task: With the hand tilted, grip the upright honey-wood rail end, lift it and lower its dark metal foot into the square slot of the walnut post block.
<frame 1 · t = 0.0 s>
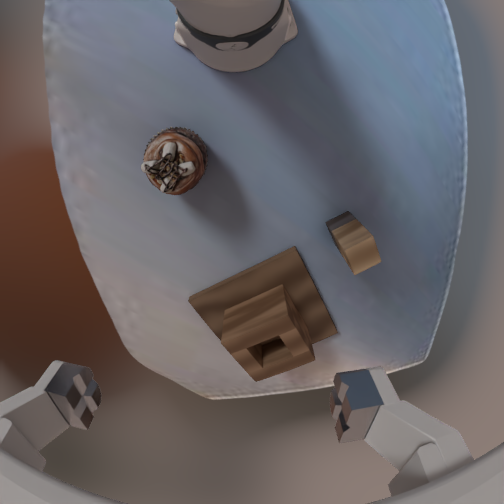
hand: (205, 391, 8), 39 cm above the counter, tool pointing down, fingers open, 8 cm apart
cupcake: (182, 155, 42), on the counter
post block: (267, 314, 55), on the counter
rail end: (341, 227, 47), on the counter
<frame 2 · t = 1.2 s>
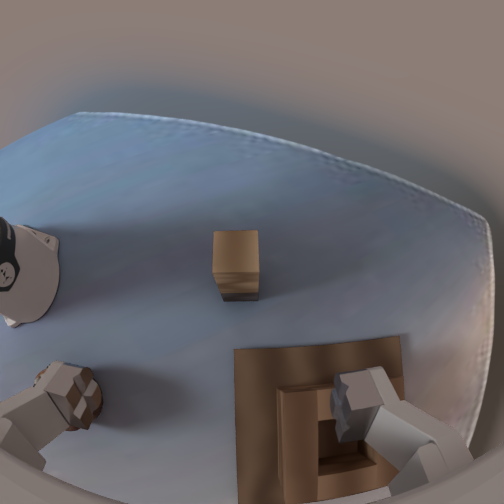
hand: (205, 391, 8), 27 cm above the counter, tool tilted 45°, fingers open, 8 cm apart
post block: (323, 427, 30), on the counter
rail end: (240, 285, 38), on the counter
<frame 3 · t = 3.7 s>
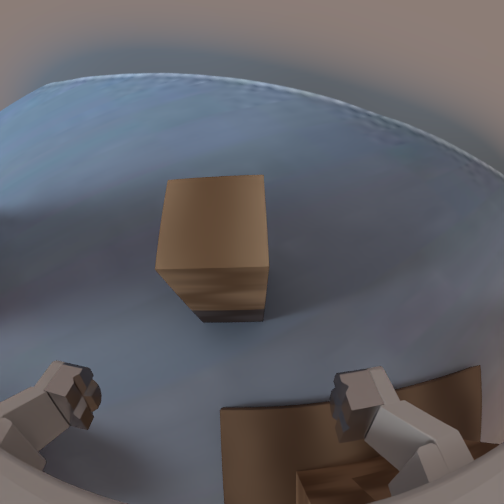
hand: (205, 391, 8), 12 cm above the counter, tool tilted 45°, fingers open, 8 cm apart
rail end: (232, 293, 22), on the counter
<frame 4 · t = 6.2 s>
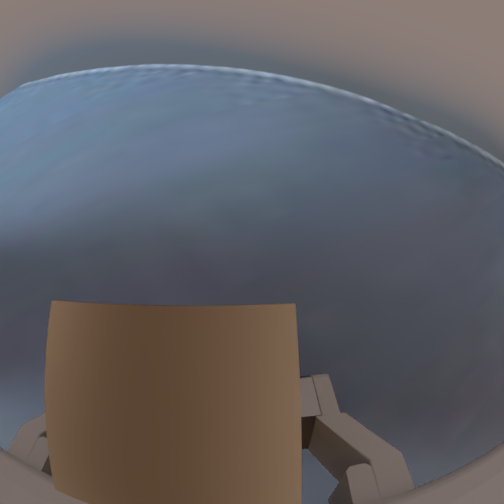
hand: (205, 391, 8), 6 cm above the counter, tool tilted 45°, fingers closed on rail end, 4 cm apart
rail end: (226, 396, 13), on the counter, touching gripper
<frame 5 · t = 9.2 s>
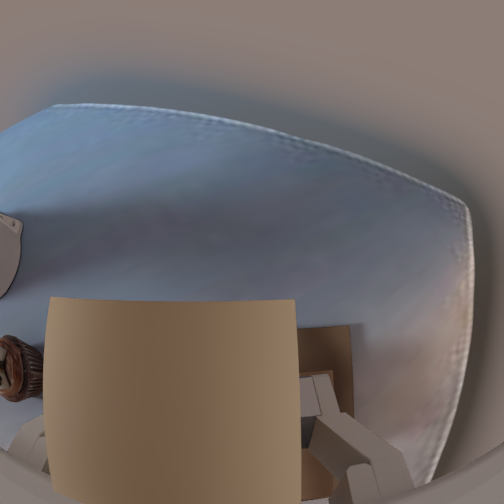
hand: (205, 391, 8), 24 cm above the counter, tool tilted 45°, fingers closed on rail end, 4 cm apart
cupcake: (31, 371, 29), on the counter
post block: (257, 422, 28), on the counter
rail end: (226, 395, 13), point 18 cm above the counter, touching gripper
when the fingers open (12 cm above the counter, at t = 12.5 s): rail end drops 1 cm, resting on post block.
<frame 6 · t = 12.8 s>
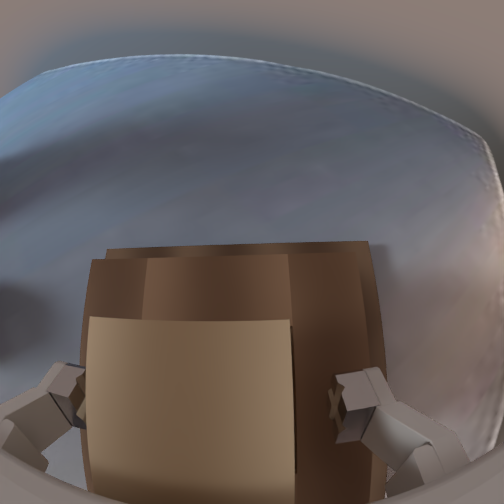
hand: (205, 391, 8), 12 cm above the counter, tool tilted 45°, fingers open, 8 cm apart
post block: (235, 390, 19), on the counter
rail end: (228, 393, 15), point 5 cm above the counter, touching post block
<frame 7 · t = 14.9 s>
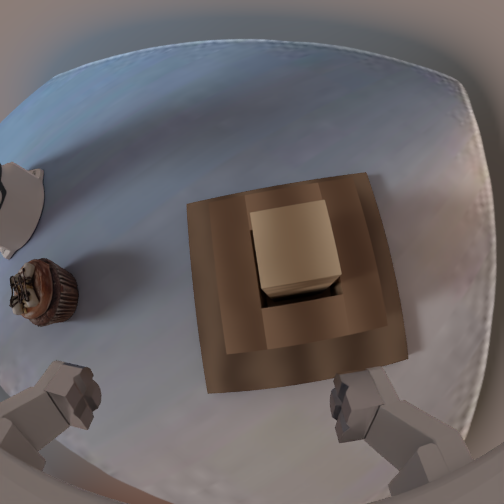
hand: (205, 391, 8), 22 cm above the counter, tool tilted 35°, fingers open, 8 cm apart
cupcake: (62, 296, 35), on the counter
post block: (294, 281, 31), on the counter
rail end: (294, 274, 26), point 4 cm above the counter, touching post block
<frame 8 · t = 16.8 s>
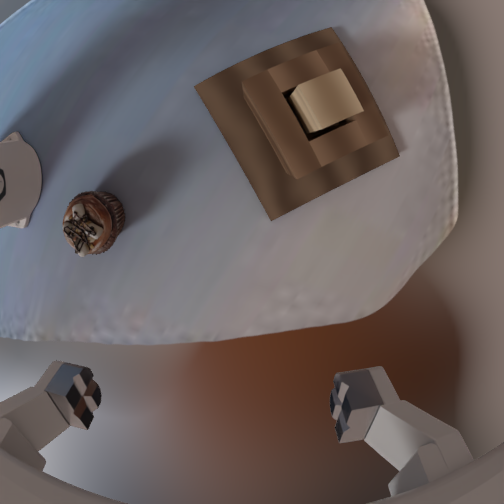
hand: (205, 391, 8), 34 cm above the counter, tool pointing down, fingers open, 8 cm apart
cupcake: (105, 215, 41), on the counter
post block: (302, 116, 36), on the counter
rail end: (308, 112, 32), point 4 cm above the counter, touching post block
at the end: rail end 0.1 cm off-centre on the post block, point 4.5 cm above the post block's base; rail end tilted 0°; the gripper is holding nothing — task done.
